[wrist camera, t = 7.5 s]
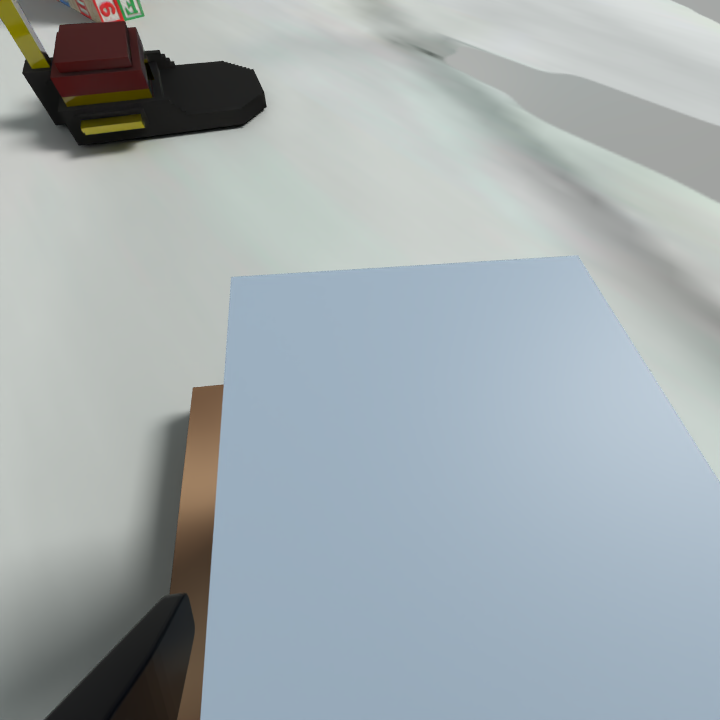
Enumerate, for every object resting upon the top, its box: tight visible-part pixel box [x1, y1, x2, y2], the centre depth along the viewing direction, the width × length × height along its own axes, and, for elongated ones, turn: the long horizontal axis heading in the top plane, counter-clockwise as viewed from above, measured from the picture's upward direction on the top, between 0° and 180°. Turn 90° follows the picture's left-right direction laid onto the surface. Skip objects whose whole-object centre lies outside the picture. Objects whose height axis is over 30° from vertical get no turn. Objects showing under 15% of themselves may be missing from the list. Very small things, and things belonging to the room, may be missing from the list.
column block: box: [200, 256, 720, 720], centre depth 9 cm, size 5×5×13 cm
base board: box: [170, 385, 224, 720], centre depth 16 cm, size 16×16×3 cm
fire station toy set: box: [0, 0, 266, 145], centre depth 32 cm, size 14×20×11 cm
